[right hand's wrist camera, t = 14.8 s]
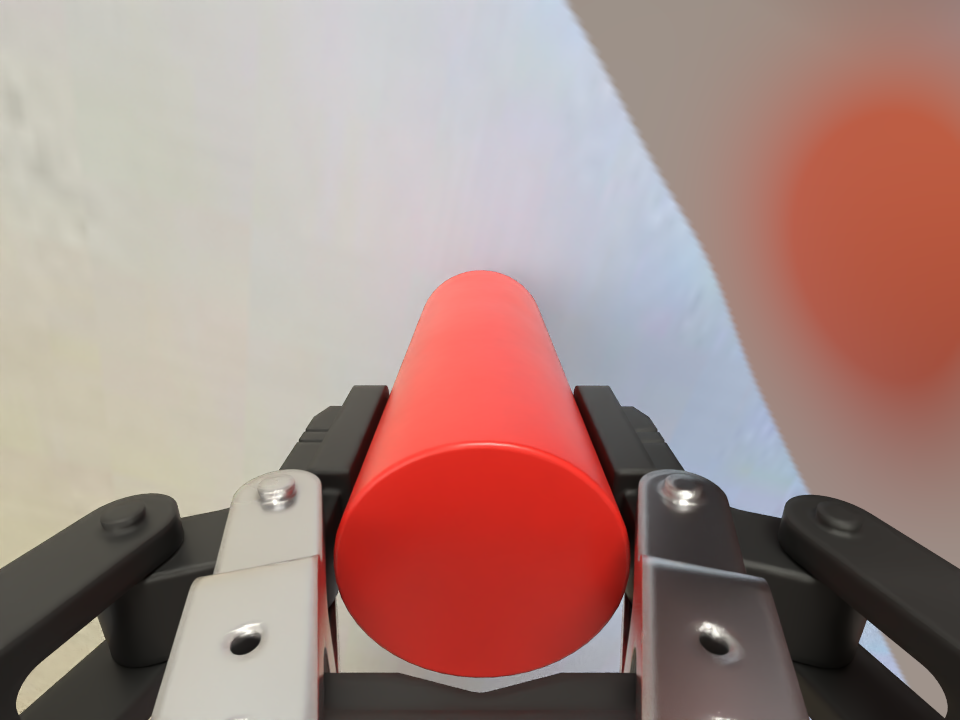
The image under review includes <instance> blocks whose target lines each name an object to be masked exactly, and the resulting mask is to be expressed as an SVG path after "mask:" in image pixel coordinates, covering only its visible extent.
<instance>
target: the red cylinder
mask: <svg viewBox="0 0 960 720" xmlns="http://www.w3.org/2000/svg"><path fill="white" fill-rule="evenodd" d="M630 563H631V553H630V542H629V538H628V533H627V529H626V526H625V524H624V521H623V519H622V516H621V514H620V511H619V509H618V506H617V504H616V501H615V499H614V496H613V494H612V491H611V489H610V486H609V484H608V481H607V479H606V476H605V474H604V471H603V469H602V466H601V464H600V461H599V459H598V456H597V454H596V451H595V449H594V446H593V444H592V441H591V439H590V436H589V434H588V431H587V429H586V426H585V424H584V421H583V419H582V416H581V414H580V411H579V409H578V406H577V404H576V401H575V399H574V396H573V394H572V391H571V389H570V386H569V384H568V381H567V379H566V376H565V374H564V371H563V369H562V366H561V364H560V361H559V359H558V356H557V354H556V351H555V349H554V346H553V344H552V341H551V339H550V336H549V334H548V331H547V329H546V326H545V324H544V321H543V319H542V316H541V314H540V311H539V309H538V306H537V304H536V302H535V300H534V299H533V297H532V296H531V294H530V293H529V292H528V291H527V290H526V289H525V288H524V287H523V286H522V285H521V284H520V283H518V282H517V281H515V280H514V279H512V278H510V277H508V276H506V275H503V274H501V273H497V272H493V271H484V270H483V271H470V272H465V273H462V274H459V275H456V276H454V277H452V278H450V279H449V280H447V281H445V282H444V283H443V284H441V285H440V286H439V287H438V288H437V289H436V290H435V291H434V292H433V293H432V295H431V296H430V297H429V299H428V301H427V302H426V304H425V306H424V309H423V311H422V314H421V317H420V319H419V322H418V324H417V327H416V329H415V332H414V334H413V337H412V340H411V342H410V345H409V347H408V350H407V352H406V355H405V357H404V360H403V363H402V365H401V368H400V370H399V373H398V375H397V378H396V380H395V383H394V386H393V388H392V391H391V393H390V396H389V398H388V401H387V403H386V406H385V409H384V411H383V414H382V416H381V419H380V421H379V424H378V426H377V429H376V432H375V434H374V437H373V439H372V442H371V444H370V447H369V449H368V452H367V455H366V457H365V460H364V462H363V465H362V467H361V470H360V472H359V475H358V478H357V480H356V483H355V485H354V488H353V490H352V493H351V495H350V498H349V501H348V503H347V506H346V508H345V511H344V513H343V516H342V518H341V521H340V524H339V527H338V530H337V533H336V538H335V543H334V553H333V565H334V571H335V577H336V583H337V586H338V589H339V592H340V595H341V598H342V600H343V602H344V604H345V606H346V608H347V610H348V612H349V613H350V614H351V616H352V617H353V619H354V620H355V621H356V623H357V624H358V625H359V626H360V627H361V629H362V630H363V631H364V632H365V633H366V634H367V635H368V636H369V637H370V638H372V639H373V640H374V641H375V642H376V643H377V644H379V645H380V646H381V647H383V648H384V649H386V650H387V651H389V652H390V653H392V654H393V655H395V656H397V657H399V658H401V659H403V660H405V661H407V662H409V663H411V664H414V665H417V666H419V667H422V668H424V669H428V670H431V671H435V672H439V673H443V674H448V675H454V676H462V677H475V678H484V677H501V676H511V675H516V674H520V673H525V672H529V671H533V670H536V669H539V668H542V667H545V666H548V665H550V664H552V663H555V662H557V661H559V660H561V659H563V658H565V657H567V656H568V655H570V654H572V653H574V652H575V651H577V650H578V649H580V648H581V647H582V646H584V645H585V644H587V643H588V642H589V641H590V640H591V639H592V638H593V637H595V636H596V635H597V634H598V633H599V632H600V631H601V630H602V629H603V627H604V626H605V625H606V624H607V623H608V621H609V620H610V619H611V617H612V616H613V614H614V613H615V611H616V609H617V608H618V606H619V604H620V602H621V600H622V597H623V595H624V593H625V589H626V586H627V582H628V578H629V572H630Z"/></svg>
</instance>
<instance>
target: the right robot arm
mask: <svg viewBox="0 0 960 720" xmlns="http://www.w3.org/2000/svg"><path fill="white" fill-rule="evenodd" d="M573 396H574V399H575V401H576V404H577V406H578V409H579V411H580V414H581V416H582V419H583V421H584V424H585V426H586V429H587V431H588V434H589V436H590V439H591V441H592V444H593V446H594V449H595V451H596V454H597V456H598V459H599V461H600V464H601V466H602V469H603V471H604V474H605V476H606V479H607V481H608V484H609V486H610V489H611V491H612V494H613V496H614V499H615V501H616V504H617V506H618V509H619V511H620V514H621V516H622V519H623V521H624V524H625V526H626V529H627V533H628V538H629V542H630V553H631V563H630V572H629V578H628V582H627V586H626V589H625V594H624V601H623V609H622V629H621V651H620V673H559V674H555V675H551V676H547V677H543V678H540V679H536V680H532V681H528V682H524V683H520V684H516V685H513V686H509V687H505V688H501V689H497V690H493V691H489V692H484V693H476V692H471V691H467V690H463V689H459V688H455V687H451V686H447V685H444V684H440V683H436V682H432V681H428V680H424V679H420V678H417V677H413V676H409V675H405V674H401V673H340V651H339V629H338V609H337V601H336V596H337V593H338V590H339V589H338V586H337V583H336V577H335V571H334V565H333V553H334V543H335V538H336V533H337V530H338V527H339V524H340V521H341V518H342V516H343V513H344V511H345V508H346V506H347V503H348V501H349V498H350V495H351V493H352V490H353V488H354V485H355V483H356V480H357V478H358V475H359V472H360V470H361V467H362V465H363V462H364V460H365V457H366V455H367V452H368V449H369V447H370V444H371V442H372V439H373V437H374V434H375V432H376V429H377V426H378V424H379V421H380V419H381V416H382V414H383V411H384V409H385V406H386V403H387V401H388V398H389V390H388V387H387V386H386V385H355V386H353V388H352V390H351V391H350V393H349V395H348V397H347V398H346V400H345V402H344V404H343V405H342V406H330V407H328V408H327V409H325V410H324V411H322V412H321V413H319V414H318V415H316V416H315V417H314V418H313V419H312V421H311V422H310V424H309V425H308V427H307V428H306V432H304V433H303V434H302V436H301V437H300V439H299V442H297V443H296V445H295V447H294V448H293V450H292V451H291V453H290V454H289V456H288V457H287V459H286V460H285V462H284V463H283V465H282V466H281V468H280V469H279V471H274V472H270V473H266V474H263V475H261V476H258V477H256V478H254V479H252V480H250V481H249V482H247V483H246V484H244V485H243V486H242V487H241V488H240V489H239V490H238V491H237V492H236V493H235V495H234V496H233V499H232V502H231V506H230V508H227V509H223V510H219V511H214V512H209V513H204V514H199V515H194V516H189V517H183V518H180V514H179V510H178V506H177V503H176V501H175V500H174V499H173V498H171V497H170V496H167V495H163V494H152V493H150V494H140V495H134V496H130V497H126V498H122V499H119V500H116V501H114V502H111V503H108V504H106V505H104V506H102V507H100V508H98V509H96V510H95V511H93V512H91V513H89V514H88V515H86V516H85V517H83V518H81V519H80V520H78V521H77V522H75V523H73V524H72V525H70V526H69V527H67V528H65V529H64V530H62V531H61V532H59V533H57V534H56V535H54V536H53V537H51V538H49V539H48V540H46V541H45V542H43V543H41V544H40V545H38V546H37V547H35V548H33V549H32V550H30V551H29V552H27V553H25V554H24V555H22V556H20V557H19V558H17V559H16V560H14V561H12V562H11V563H9V564H8V565H6V566H4V567H3V568H1V569H0V720H148V719H149V718H150V717H151V719H150V720H810V719H809V717H810V718H811V719H812V720H960V569H959V568H957V567H956V566H954V565H952V564H951V563H949V562H948V561H946V560H944V559H943V558H941V557H940V556H938V555H936V554H935V553H933V552H931V551H930V550H928V549H927V548H925V547H923V546H922V545H920V544H919V543H917V542H915V541H914V540H912V539H911V538H909V537H907V536H906V535H904V534H903V533H901V532H899V531H898V530H896V529H895V528H893V527H891V526H890V525H888V524H887V523H885V522H883V521H882V520H880V519H878V518H877V517H875V516H874V515H872V514H870V513H869V512H867V511H865V510H863V509H861V508H859V507H857V506H855V505H853V504H850V503H848V502H845V501H842V500H839V499H835V498H831V497H826V496H820V495H801V496H796V497H793V498H791V499H790V500H788V501H787V503H786V504H785V507H784V511H783V515H782V518H777V517H772V516H767V515H762V514H757V513H752V512H747V511H743V510H738V509H735V508H732V507H730V506H729V502H728V499H727V496H726V495H725V493H724V492H723V491H722V490H721V489H720V488H719V487H718V486H717V485H716V484H714V483H713V482H711V481H710V480H708V479H706V478H704V477H702V476H699V475H697V474H694V473H690V472H686V471H685V470H684V469H683V467H682V466H681V464H680V463H679V461H678V460H677V458H676V457H675V455H674V454H673V452H672V451H671V449H670V448H669V446H668V445H667V443H664V439H663V437H662V436H661V434H660V433H659V432H657V428H656V427H655V425H654V424H653V422H652V421H651V419H650V418H649V417H648V416H646V415H645V414H643V413H642V412H640V411H639V410H637V409H636V408H634V407H621V406H620V404H619V402H618V400H617V399H616V397H615V395H614V393H613V392H612V390H611V388H610V387H609V386H576V387H575V389H574V395H573ZM97 616H98V619H99V622H100V625H101V628H102V631H103V633H104V636H105V639H106V640H105V641H103V642H102V643H101V644H100V645H99V646H98V647H97V648H95V649H94V650H93V651H92V652H91V653H90V654H89V655H87V656H86V657H85V658H84V659H83V660H82V661H81V662H79V663H78V664H77V665H76V666H75V667H74V668H73V669H71V670H70V671H69V672H68V673H67V674H66V675H65V676H63V677H62V678H61V679H60V680H59V681H58V682H56V683H55V684H54V685H53V686H52V687H51V688H50V689H48V690H47V691H46V692H45V693H44V694H43V695H42V696H40V697H39V698H38V699H37V700H36V701H35V702H34V703H32V704H31V705H30V706H29V707H28V708H27V709H26V710H24V711H23V712H22V713H21V714H20V715H18V713H17V709H16V699H17V695H18V692H19V690H20V688H21V686H22V684H23V682H24V681H25V679H26V678H27V676H28V675H29V674H30V672H31V671H32V670H33V669H34V668H35V667H36V666H37V665H38V664H39V663H41V662H42V661H43V660H44V659H45V658H47V657H48V656H49V655H50V654H51V653H53V652H54V651H55V650H56V649H58V648H59V647H60V646H61V645H63V644H64V643H65V642H66V641H67V640H69V639H70V638H71V637H72V636H74V635H75V634H76V633H77V632H78V631H80V630H81V629H82V628H83V627H85V626H86V625H87V624H88V623H89V622H91V621H92V620H93V619H94V618H96V617H97ZM867 620H868V621H869V622H871V623H872V624H873V625H874V626H875V627H877V628H878V629H879V630H880V631H882V632H883V633H884V634H885V635H887V636H888V637H889V638H890V639H891V640H893V641H894V642H895V643H896V644H898V645H899V646H900V647H901V648H902V649H904V650H905V651H906V652H907V653H909V654H910V655H911V656H912V657H913V658H915V659H916V660H917V661H918V662H920V663H921V664H922V665H923V666H924V667H925V668H927V669H928V670H929V672H930V673H931V674H932V675H933V676H934V677H935V679H936V680H937V681H938V683H939V684H940V686H941V687H942V689H943V691H944V693H945V696H946V699H947V704H948V712H947V715H946V717H945V718H944V717H942V716H941V715H940V714H939V713H938V712H937V711H936V710H934V709H933V708H932V707H931V706H930V705H929V704H928V703H926V702H925V701H924V700H923V699H922V698H921V697H920V696H918V695H917V694H916V693H915V692H914V691H913V690H912V689H910V688H909V687H908V686H907V685H906V684H905V683H904V682H902V681H901V680H900V679H899V678H898V677H897V676H895V675H894V674H893V673H892V672H891V671H890V670H889V669H887V668H886V667H885V666H884V665H883V664H882V663H881V662H879V661H878V660H877V659H876V658H875V657H874V656H873V655H871V654H870V653H869V652H868V651H867V650H866V649H865V648H863V647H862V646H861V645H860V644H859V640H860V638H861V635H862V632H863V629H864V626H865V624H866V621H867Z"/></svg>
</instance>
